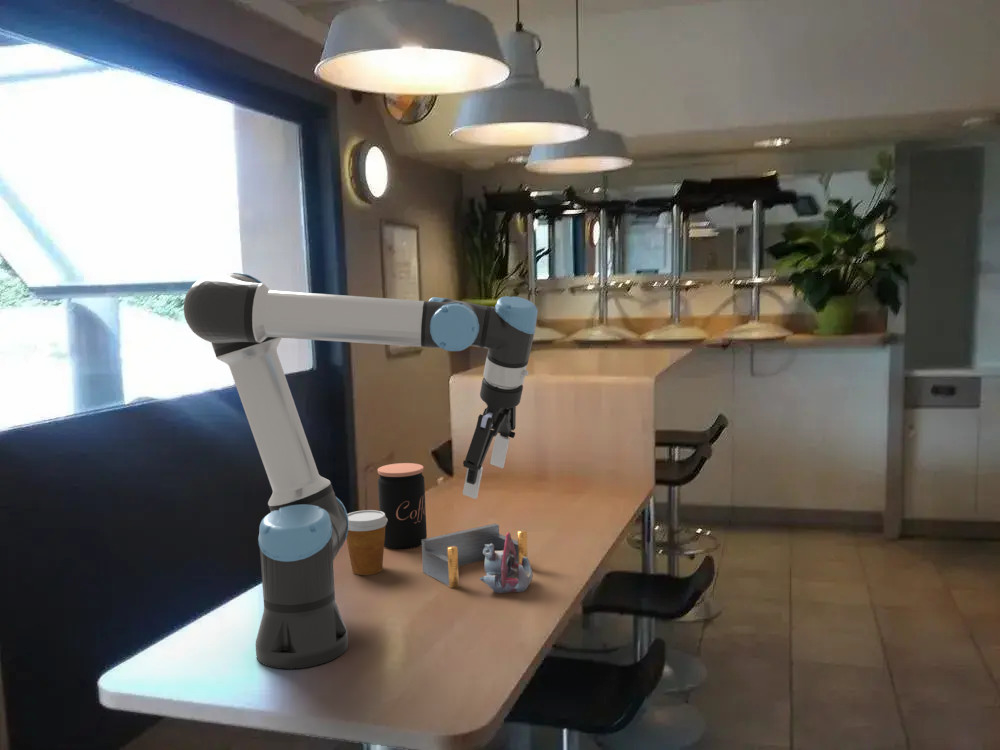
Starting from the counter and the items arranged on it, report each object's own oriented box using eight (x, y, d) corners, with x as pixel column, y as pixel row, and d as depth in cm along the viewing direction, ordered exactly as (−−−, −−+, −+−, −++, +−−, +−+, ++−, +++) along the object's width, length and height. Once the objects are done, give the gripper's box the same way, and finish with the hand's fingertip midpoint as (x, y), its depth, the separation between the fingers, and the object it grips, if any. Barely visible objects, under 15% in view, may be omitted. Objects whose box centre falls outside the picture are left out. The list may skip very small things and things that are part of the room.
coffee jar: (398, 553, 197) (394, 475, 195) (372, 543, 205) (368, 468, 203) (436, 543, 204) (432, 467, 202) (409, 533, 212) (406, 460, 210)
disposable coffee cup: (335, 571, 186) (332, 516, 185) (370, 560, 193) (368, 507, 192) (363, 581, 180) (360, 524, 178) (399, 569, 186) (396, 514, 185)
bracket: (452, 588, 173) (450, 549, 173) (421, 572, 184) (420, 535, 183) (530, 568, 184) (528, 531, 183) (497, 553, 194) (495, 518, 193)
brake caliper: (537, 586, 167) (498, 536, 167) (494, 617, 169) (455, 568, 170) (547, 566, 178) (511, 519, 178) (506, 596, 180) (470, 550, 181)
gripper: (497, 411, 147) (476, 517, 156) (544, 365, 169) (524, 460, 178) (456, 398, 149) (438, 502, 158) (508, 354, 171) (490, 448, 180)
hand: (483, 480), depth 168 cm, fingers open, 13 cm apart
